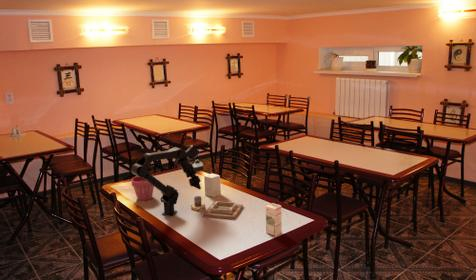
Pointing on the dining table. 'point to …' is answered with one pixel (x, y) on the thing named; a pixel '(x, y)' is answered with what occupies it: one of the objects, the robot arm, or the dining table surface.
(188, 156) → the robot arm
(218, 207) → the board
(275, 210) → the syrup box
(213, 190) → the supplement box
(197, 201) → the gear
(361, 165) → the dining table surface
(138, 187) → the plant pot
